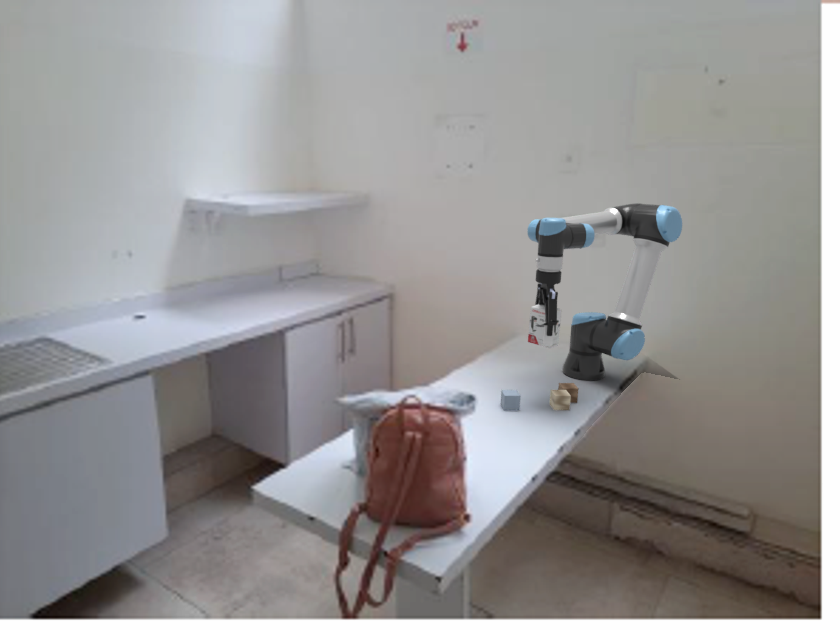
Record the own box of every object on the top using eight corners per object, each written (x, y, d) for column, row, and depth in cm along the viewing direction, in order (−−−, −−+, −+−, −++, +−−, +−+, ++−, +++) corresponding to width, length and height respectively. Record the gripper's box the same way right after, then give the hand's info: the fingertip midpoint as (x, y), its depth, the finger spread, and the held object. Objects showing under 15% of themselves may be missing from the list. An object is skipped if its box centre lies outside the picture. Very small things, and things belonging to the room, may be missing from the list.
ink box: (526, 342, 182) (529, 305, 179) (535, 339, 185) (538, 303, 182) (550, 348, 176) (553, 311, 173) (559, 345, 179) (562, 308, 176)
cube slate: (515, 404, 186) (516, 389, 184) (519, 410, 181) (520, 395, 180) (500, 404, 185) (501, 389, 184) (503, 410, 180) (504, 395, 179)
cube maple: (564, 404, 187) (565, 389, 185) (569, 410, 182) (570, 395, 181) (549, 404, 186) (550, 389, 185) (553, 410, 181) (555, 395, 180)
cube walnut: (572, 397, 193) (573, 383, 192) (577, 402, 188) (578, 388, 187) (557, 397, 192) (558, 383, 191) (562, 403, 188) (563, 388, 186)
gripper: (527, 263, 185) (522, 330, 191) (546, 276, 164) (540, 351, 169) (550, 263, 186) (545, 330, 191) (572, 276, 164) (565, 351, 170)
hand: (543, 340), depth 180 cm, fingers closed on ink box, 9 cm apart
